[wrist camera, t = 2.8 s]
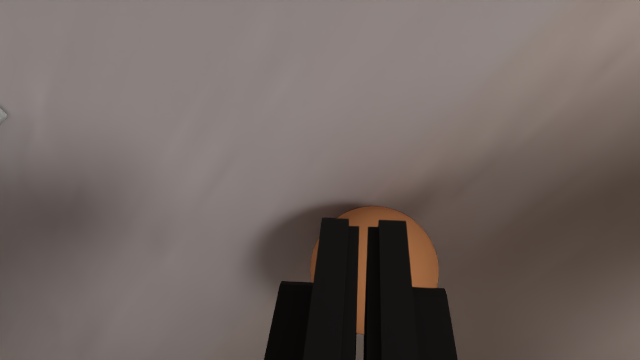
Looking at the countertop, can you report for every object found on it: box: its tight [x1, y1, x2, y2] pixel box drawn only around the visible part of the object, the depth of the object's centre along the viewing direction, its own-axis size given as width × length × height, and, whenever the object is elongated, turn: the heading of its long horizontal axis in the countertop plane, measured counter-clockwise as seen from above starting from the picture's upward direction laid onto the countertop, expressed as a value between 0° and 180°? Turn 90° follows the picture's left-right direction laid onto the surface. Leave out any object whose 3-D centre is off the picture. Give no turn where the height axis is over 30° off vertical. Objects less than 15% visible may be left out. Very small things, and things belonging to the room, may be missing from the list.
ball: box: [310, 206, 439, 335], centre depth 25 cm, size 6×6×6 cm
